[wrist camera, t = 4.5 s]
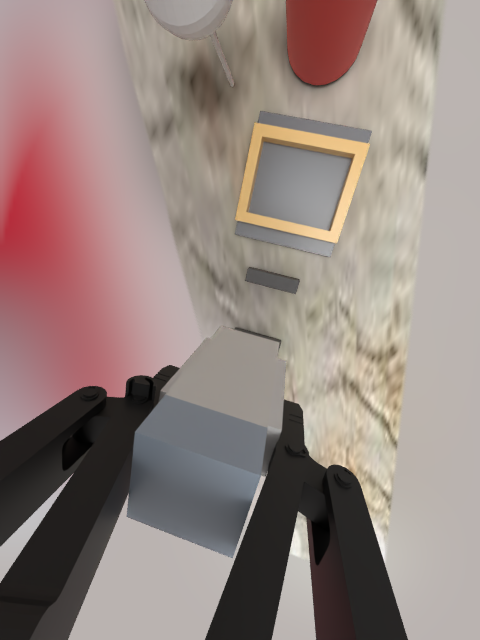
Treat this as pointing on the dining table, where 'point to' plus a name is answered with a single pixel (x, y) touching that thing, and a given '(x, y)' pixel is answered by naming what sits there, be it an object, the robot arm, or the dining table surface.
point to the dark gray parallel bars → (272, 282)
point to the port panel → (299, 181)
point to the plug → (206, 443)
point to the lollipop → (193, 21)
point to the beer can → (325, 36)
